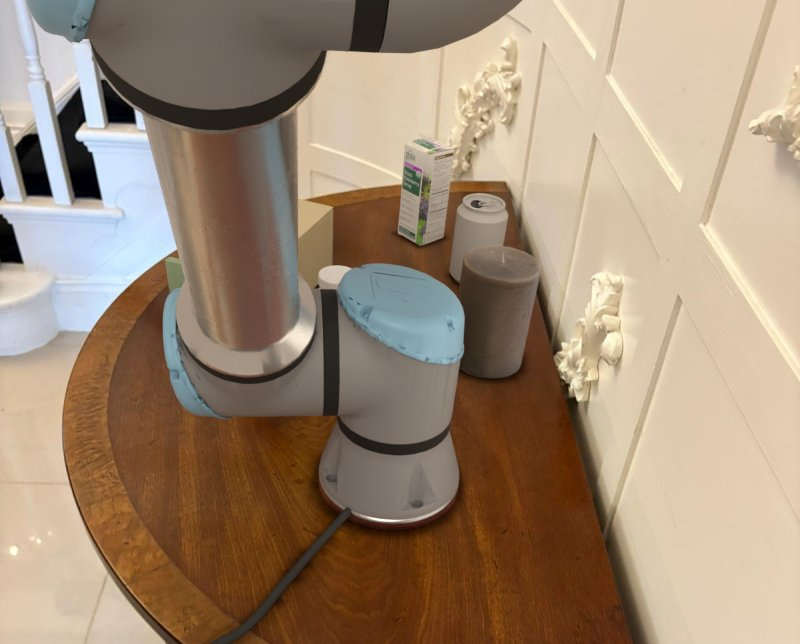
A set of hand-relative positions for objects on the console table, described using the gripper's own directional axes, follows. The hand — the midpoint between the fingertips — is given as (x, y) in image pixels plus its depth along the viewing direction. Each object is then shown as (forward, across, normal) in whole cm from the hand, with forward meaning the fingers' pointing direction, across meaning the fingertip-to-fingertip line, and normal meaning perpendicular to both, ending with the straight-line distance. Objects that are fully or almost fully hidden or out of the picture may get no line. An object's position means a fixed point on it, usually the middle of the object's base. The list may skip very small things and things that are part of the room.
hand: (256, 154), depth 86 cm
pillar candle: (+25, -27, -11) cm, 38 cm away
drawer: (+24, +8, -5) cm, 25 cm away
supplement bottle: (+25, -10, 0) cm, 27 cm away
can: (+25, -19, -32) cm, 45 cm away
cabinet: (+24, +8, -17) cm, 31 cm away
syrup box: (+25, -7, -42) cm, 49 cm away
